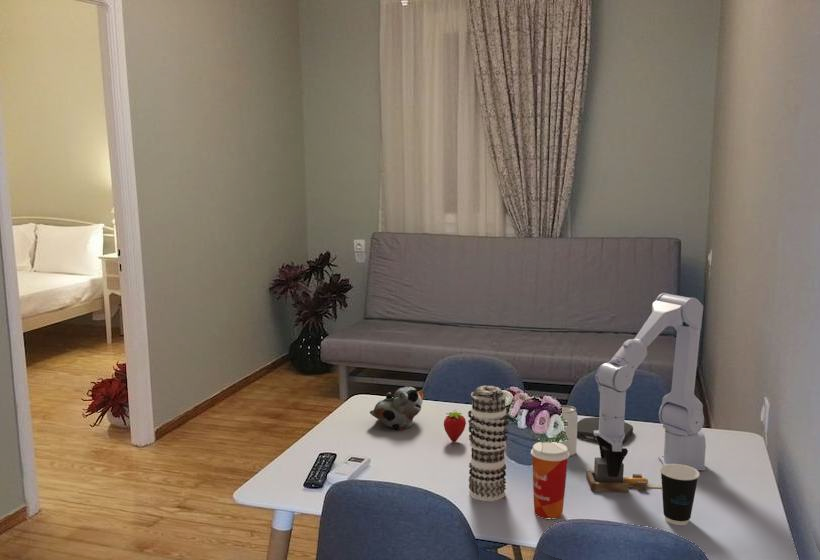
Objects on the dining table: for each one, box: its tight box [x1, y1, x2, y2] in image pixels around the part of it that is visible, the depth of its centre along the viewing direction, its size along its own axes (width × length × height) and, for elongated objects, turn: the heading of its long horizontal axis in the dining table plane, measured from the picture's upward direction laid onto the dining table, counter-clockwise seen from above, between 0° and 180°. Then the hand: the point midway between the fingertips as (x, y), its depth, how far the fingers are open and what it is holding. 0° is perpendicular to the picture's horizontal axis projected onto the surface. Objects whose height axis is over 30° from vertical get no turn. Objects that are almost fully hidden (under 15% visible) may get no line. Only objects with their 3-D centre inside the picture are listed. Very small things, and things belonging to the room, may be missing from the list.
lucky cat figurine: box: [369, 386, 424, 431], centre depth 215 cm, size 15×12×14 cm
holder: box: [585, 470, 662, 493], centre depth 174 cm, size 17×8×2 cm, turn 86°
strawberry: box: [443, 410, 467, 443], centre depth 201 cm, size 6×8×10 cm
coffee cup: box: [530, 441, 571, 520], centre depth 158 cm, size 8×8×15 cm
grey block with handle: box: [593, 456, 649, 485], centre depth 174 cm, size 12×4×6 cm, turn 86°
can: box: [559, 404, 578, 457], centre depth 194 cm, size 6×6×12 cm
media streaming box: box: [577, 416, 634, 445], centre depth 208 cm, size 15×15×3 cm
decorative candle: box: [467, 385, 510, 502], centre depth 168 cm, size 9×9×25 cm
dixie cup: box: [659, 464, 701, 526], centre depth 156 cm, size 8×8×11 cm
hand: (609, 469), depth 174 cm, fingers open, 7 cm apart
